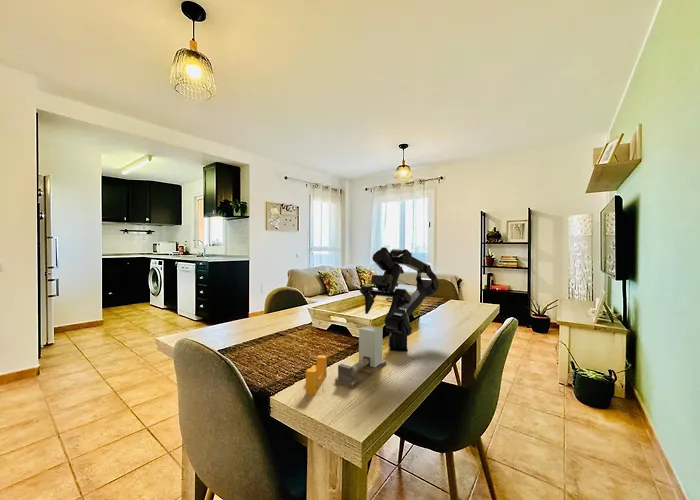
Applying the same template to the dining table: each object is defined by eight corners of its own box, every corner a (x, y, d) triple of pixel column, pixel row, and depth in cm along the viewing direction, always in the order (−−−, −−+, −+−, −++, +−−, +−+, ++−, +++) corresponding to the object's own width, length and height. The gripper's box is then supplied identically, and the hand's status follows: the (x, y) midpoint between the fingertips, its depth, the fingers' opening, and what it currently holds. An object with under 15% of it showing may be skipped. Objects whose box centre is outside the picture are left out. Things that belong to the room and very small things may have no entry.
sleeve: (366, 358, 103) (366, 325, 102) (382, 362, 99) (382, 328, 99) (358, 363, 98) (359, 328, 98) (374, 367, 95) (375, 331, 95)
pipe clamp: (313, 375, 93) (313, 354, 93) (326, 376, 92) (326, 355, 92) (299, 394, 81) (299, 370, 81) (314, 396, 81) (315, 372, 80)
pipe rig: (370, 360, 105) (371, 344, 105) (386, 364, 102) (386, 348, 102) (335, 383, 88) (335, 364, 88) (352, 388, 84) (352, 369, 84)
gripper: (360, 264, 113) (344, 301, 105) (405, 266, 101) (391, 307, 94) (373, 280, 120) (359, 315, 112) (416, 283, 108) (404, 323, 101)
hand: (377, 315), depth 105 cm, fingers open, 9 cm apart
